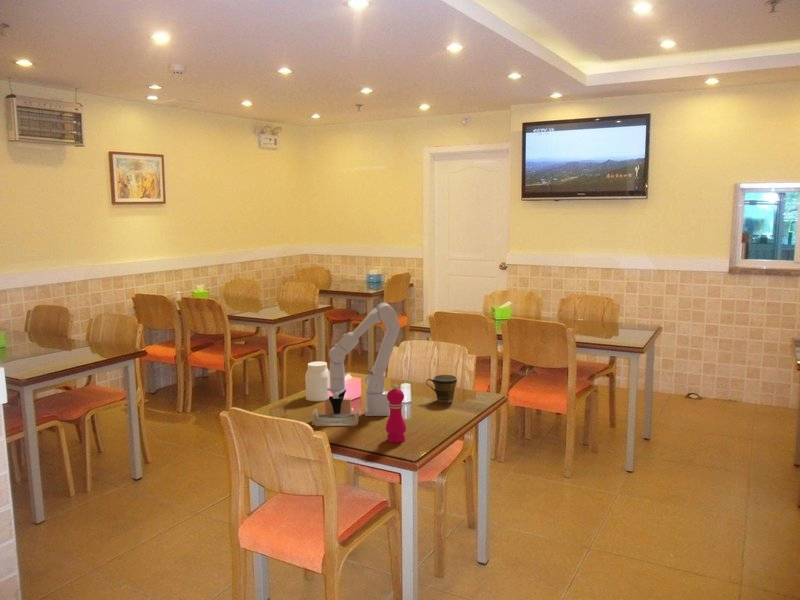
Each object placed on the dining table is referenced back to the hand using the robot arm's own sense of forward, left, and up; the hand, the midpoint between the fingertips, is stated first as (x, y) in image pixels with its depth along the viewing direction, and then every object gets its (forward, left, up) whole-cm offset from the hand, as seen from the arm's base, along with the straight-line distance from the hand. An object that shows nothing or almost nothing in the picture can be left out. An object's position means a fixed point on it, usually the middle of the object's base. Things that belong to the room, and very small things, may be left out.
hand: (338, 411), depth 256 cm
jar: (+11, -25, -2) cm, 28 cm away
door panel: (0, 0, -2) cm, 2 cm away
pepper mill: (-24, +27, -2) cm, 36 cm away
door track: (0, +8, -2) cm, 8 cm away
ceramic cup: (-42, -19, -2) cm, 46 cm away
